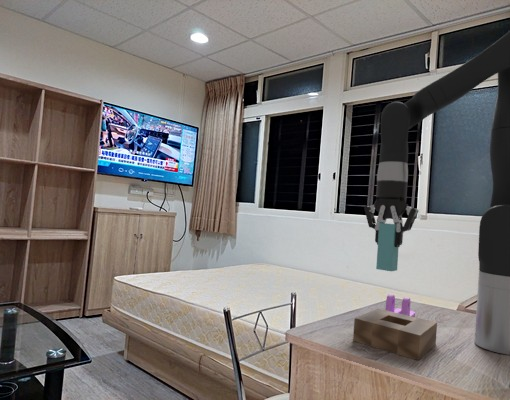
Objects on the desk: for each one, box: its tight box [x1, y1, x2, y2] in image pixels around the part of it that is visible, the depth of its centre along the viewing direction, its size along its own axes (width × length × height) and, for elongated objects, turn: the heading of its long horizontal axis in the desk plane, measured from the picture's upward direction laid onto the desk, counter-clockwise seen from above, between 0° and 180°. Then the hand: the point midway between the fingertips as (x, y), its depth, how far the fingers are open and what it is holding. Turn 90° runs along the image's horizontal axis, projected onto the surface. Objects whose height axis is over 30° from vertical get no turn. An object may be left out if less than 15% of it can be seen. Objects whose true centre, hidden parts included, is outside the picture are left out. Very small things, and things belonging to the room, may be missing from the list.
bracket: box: [385, 294, 416, 317], centre depth 107 cm, size 13×6×7 cm, turn 144°
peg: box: [376, 222, 400, 272], centre depth 97 cm, size 4×4×12 cm
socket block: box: [352, 308, 438, 361], centre depth 84 cm, size 14×14×5 cm
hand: (388, 245), depth 97 cm, fingers closed on peg, 4 cm apart
